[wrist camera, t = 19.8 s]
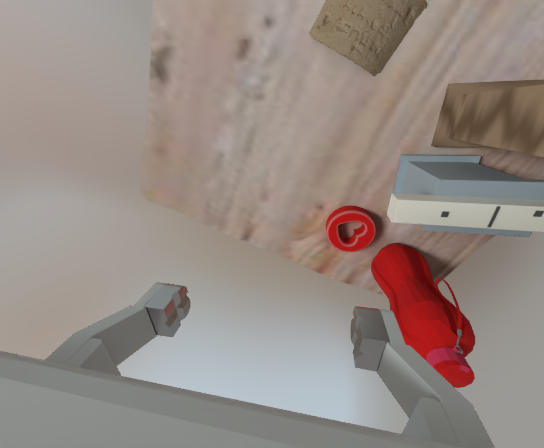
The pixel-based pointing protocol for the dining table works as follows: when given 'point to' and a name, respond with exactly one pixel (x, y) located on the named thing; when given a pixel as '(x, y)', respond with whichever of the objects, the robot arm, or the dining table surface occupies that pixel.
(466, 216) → the domino bar
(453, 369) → the water bottle
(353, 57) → the clay tablet
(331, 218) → the decorative ornament
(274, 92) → the dining table surface
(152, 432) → the robot arm
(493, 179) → the slate stand
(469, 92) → the walnut pedestal
